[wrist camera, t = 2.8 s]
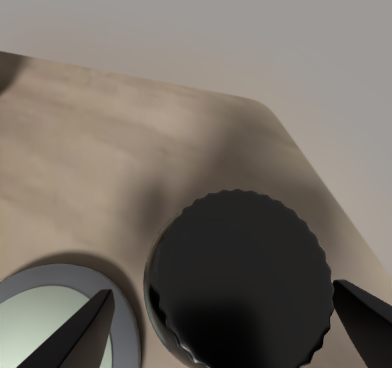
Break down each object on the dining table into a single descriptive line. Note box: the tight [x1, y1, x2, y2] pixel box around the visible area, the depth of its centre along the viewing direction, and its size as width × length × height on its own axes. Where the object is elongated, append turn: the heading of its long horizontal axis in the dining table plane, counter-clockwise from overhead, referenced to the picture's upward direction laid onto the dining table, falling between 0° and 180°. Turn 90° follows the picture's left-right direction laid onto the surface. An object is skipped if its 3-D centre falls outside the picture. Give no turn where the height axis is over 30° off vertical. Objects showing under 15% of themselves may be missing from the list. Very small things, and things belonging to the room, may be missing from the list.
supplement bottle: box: [143, 189, 334, 368], centre depth 11 cm, size 7×7×12 cm
